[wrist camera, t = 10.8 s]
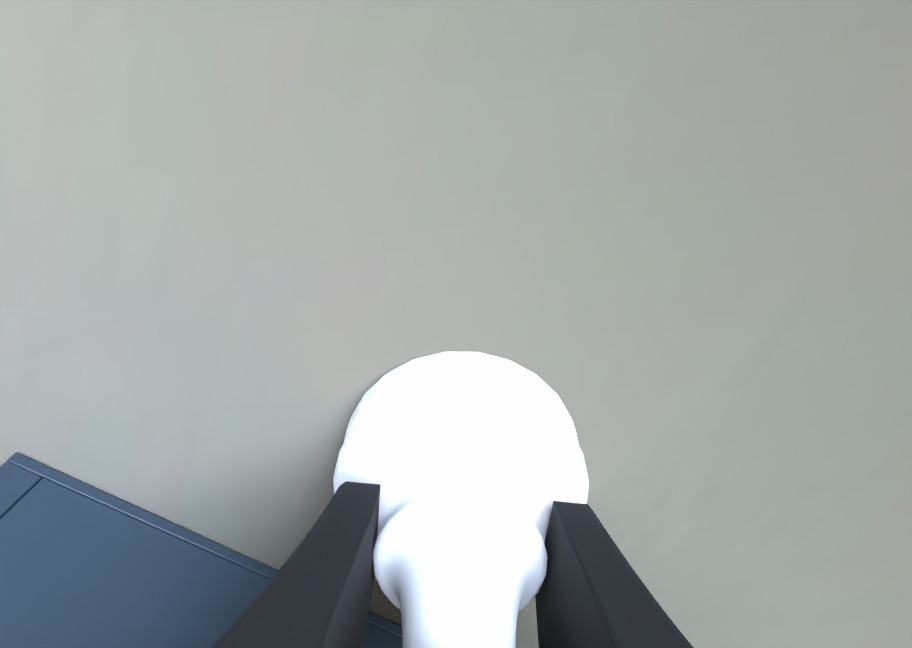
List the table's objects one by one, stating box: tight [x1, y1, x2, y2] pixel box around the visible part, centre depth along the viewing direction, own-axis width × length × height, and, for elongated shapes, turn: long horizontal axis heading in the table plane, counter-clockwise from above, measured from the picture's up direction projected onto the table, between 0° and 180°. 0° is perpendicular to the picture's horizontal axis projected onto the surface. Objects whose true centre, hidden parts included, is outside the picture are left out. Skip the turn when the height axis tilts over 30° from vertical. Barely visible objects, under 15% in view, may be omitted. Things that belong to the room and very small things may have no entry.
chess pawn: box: [333, 352, 589, 648], centre depth 9 cm, size 5×5×9 cm
